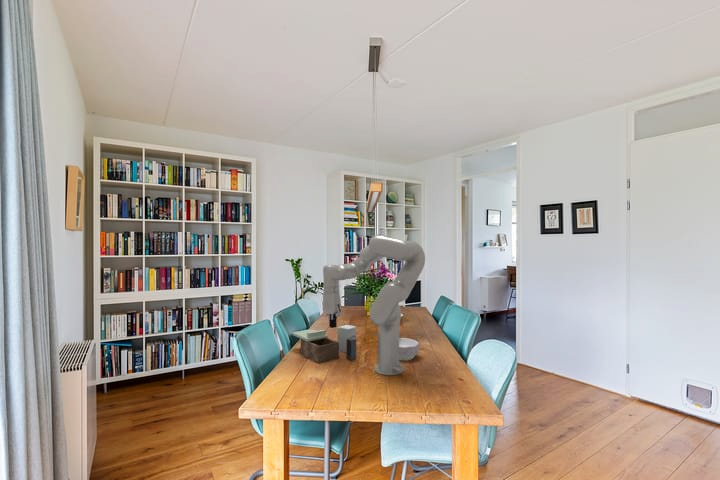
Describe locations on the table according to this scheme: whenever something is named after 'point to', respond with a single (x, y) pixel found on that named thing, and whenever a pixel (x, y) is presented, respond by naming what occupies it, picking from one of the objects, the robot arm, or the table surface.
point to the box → (320, 350)
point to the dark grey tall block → (351, 349)
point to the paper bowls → (407, 349)
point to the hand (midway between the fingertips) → (333, 327)
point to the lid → (310, 334)
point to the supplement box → (345, 336)
